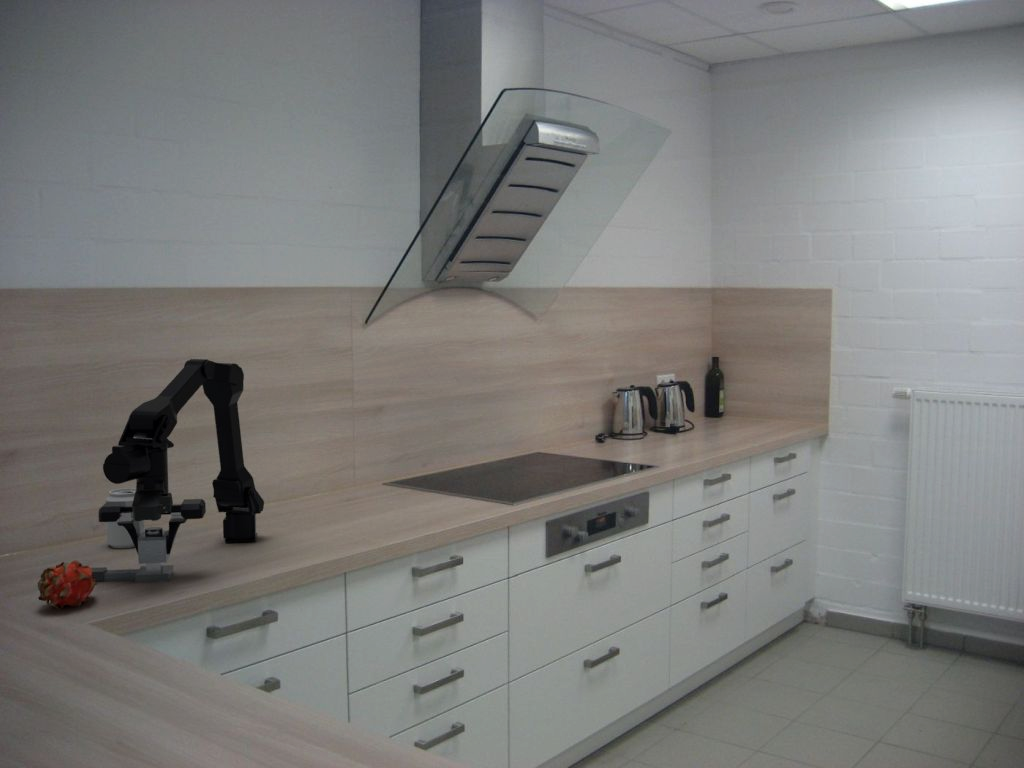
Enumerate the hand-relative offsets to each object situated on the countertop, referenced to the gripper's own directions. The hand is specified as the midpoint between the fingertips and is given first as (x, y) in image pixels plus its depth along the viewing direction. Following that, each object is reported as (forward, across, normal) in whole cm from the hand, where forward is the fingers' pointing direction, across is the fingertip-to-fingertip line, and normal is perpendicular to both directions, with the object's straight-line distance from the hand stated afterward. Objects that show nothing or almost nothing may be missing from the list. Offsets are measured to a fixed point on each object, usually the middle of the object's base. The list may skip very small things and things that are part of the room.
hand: (154, 554), depth 193 cm
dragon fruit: (+5, -12, -15) cm, 20 cm away
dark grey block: (+1, 0, 0) cm, 1 cm away
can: (+5, -10, +26) cm, 28 cm away
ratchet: (+5, -7, 0) cm, 8 cm away
